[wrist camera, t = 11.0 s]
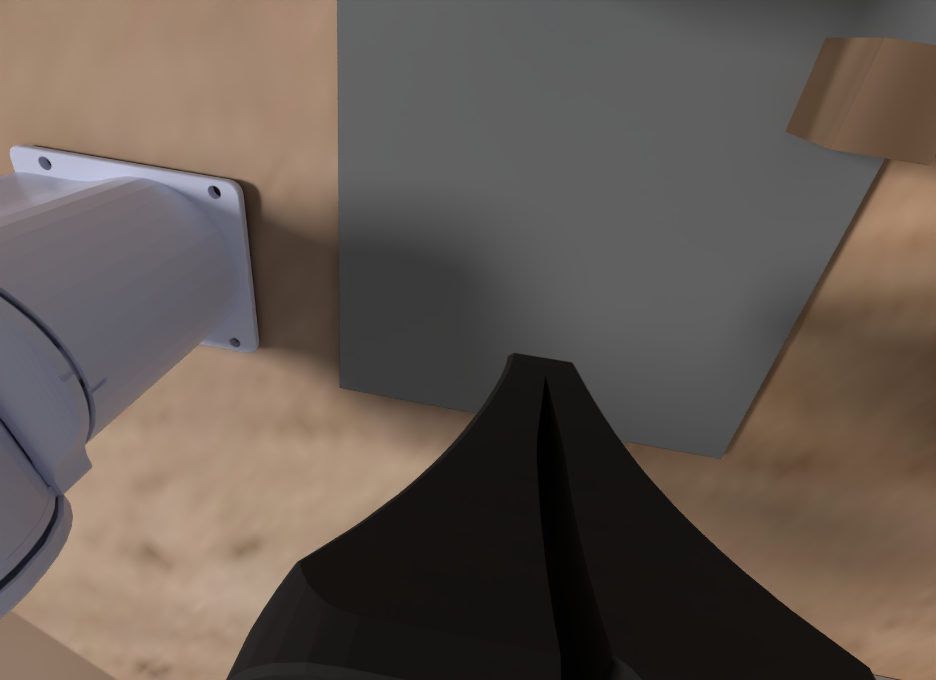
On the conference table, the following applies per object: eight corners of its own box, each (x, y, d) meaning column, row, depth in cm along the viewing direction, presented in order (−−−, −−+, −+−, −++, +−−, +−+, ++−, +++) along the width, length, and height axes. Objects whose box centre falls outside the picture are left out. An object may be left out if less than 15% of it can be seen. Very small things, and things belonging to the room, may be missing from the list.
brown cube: (785, 131, 16) (830, 149, 14) (825, 37, 15) (885, 37, 12) (867, 145, 16) (929, 165, 13) (916, 51, 15) (995, 53, 12)
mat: (344, 380, 24) (339, 387, 24) (343, -436, 12) (333, -458, 11) (716, 449, 24) (720, 459, 23) (1141, -346, 11) (1171, -366, 10)
